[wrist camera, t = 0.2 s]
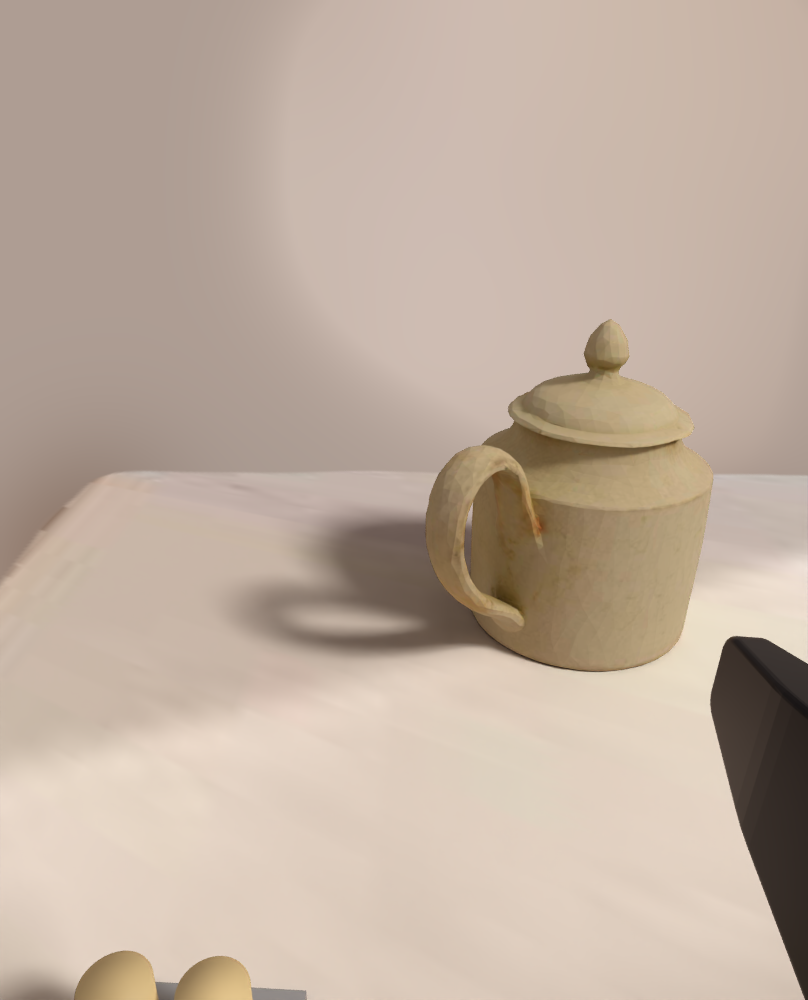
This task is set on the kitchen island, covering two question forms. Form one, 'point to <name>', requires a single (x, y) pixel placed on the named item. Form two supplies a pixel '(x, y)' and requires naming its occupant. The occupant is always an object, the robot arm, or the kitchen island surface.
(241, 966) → the stand
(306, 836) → the kitchen island surface
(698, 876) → the kitchen island surface
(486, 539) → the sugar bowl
